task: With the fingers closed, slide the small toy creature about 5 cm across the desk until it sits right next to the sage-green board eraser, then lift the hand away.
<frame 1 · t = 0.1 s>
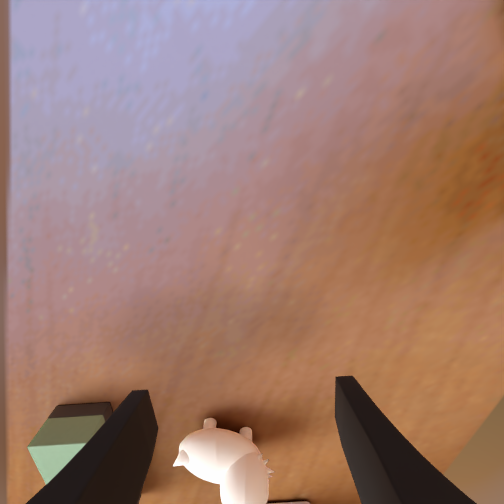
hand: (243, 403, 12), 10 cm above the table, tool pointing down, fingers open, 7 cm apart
toy creature: (227, 431, 26), on the table
board eraser: (102, 453, 27), on the table
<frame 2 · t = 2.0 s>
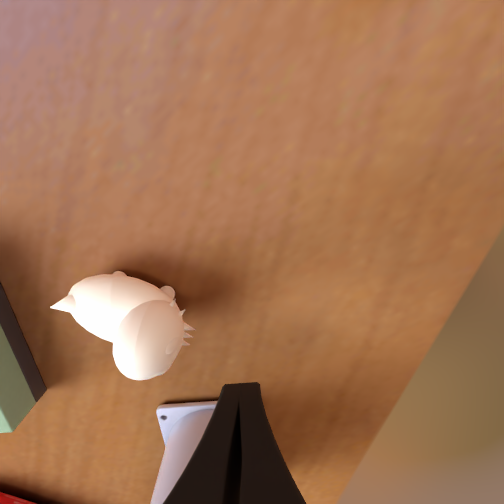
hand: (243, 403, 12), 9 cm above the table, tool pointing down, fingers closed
toy creature: (144, 294, 21), on the table
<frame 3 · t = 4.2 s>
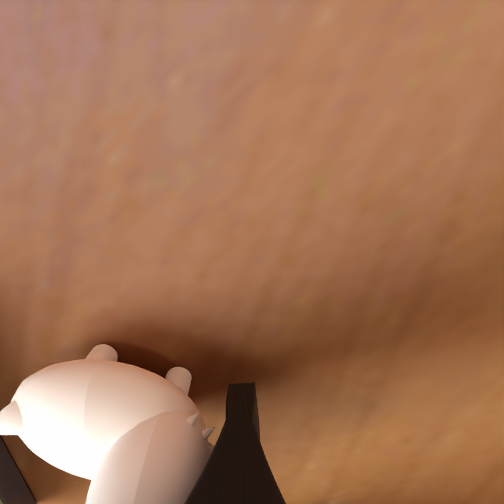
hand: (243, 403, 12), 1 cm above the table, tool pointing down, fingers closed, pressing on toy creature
toy creature: (144, 377, 13), on the table, touching gripper
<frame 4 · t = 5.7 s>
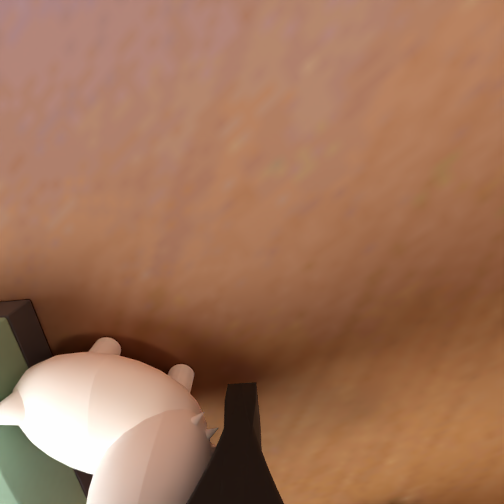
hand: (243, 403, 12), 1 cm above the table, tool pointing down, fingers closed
toy creature: (145, 372, 13), on the table, touching board eraser, gripper
board eraser: (28, 417, 14), on the table
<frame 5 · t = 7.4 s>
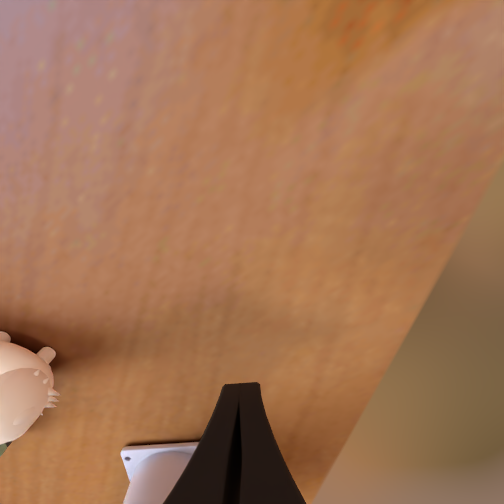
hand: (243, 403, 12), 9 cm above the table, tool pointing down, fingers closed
toy creature: (28, 352, 22), on the table
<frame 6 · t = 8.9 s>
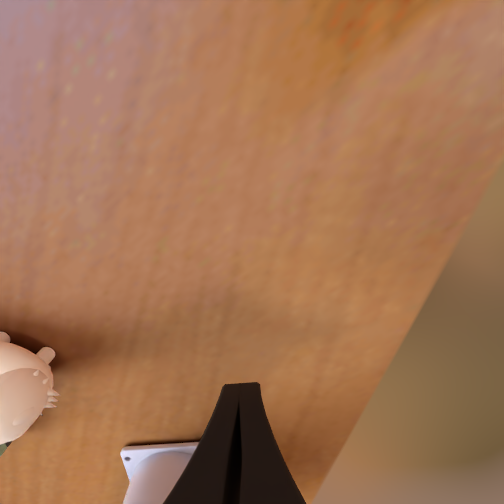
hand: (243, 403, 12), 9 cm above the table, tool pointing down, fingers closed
toy creature: (28, 352, 22), on the table
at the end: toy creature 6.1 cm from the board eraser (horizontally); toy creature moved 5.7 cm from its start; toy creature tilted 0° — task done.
